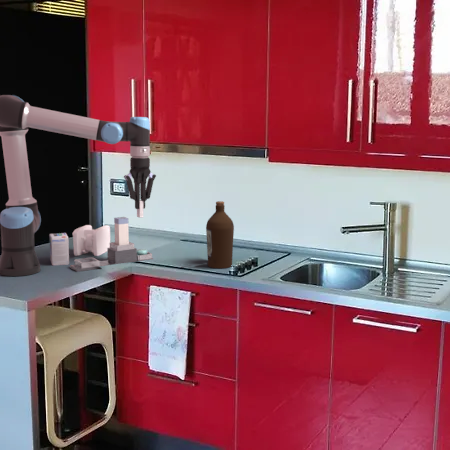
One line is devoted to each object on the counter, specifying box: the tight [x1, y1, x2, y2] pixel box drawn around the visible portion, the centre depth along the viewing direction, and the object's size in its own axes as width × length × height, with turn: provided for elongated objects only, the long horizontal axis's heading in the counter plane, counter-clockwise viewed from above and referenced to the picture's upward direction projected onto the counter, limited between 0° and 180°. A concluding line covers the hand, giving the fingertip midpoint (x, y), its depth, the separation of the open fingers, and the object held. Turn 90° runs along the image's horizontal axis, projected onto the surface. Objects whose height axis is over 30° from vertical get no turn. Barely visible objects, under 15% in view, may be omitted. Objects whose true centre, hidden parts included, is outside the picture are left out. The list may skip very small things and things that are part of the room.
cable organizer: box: [72, 224, 111, 257], centre depth 286 cm, size 15×11×12 cm
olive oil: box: [205, 200, 235, 270], centre depth 266 cm, size 11×11×25 cm
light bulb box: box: [48, 232, 70, 266], centre depth 273 cm, size 11×7×11 cm, turn 18°
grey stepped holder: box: [69, 241, 154, 273], centre depth 269 cm, size 32×8×8 cm, turn 123°
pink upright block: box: [113, 216, 130, 245], centre depth 270 cm, size 4×5×12 cm
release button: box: [137, 248, 148, 255], centre depth 276 cm, size 4×4×2 cm
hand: (140, 217), depth 274 cm, fingers closed
